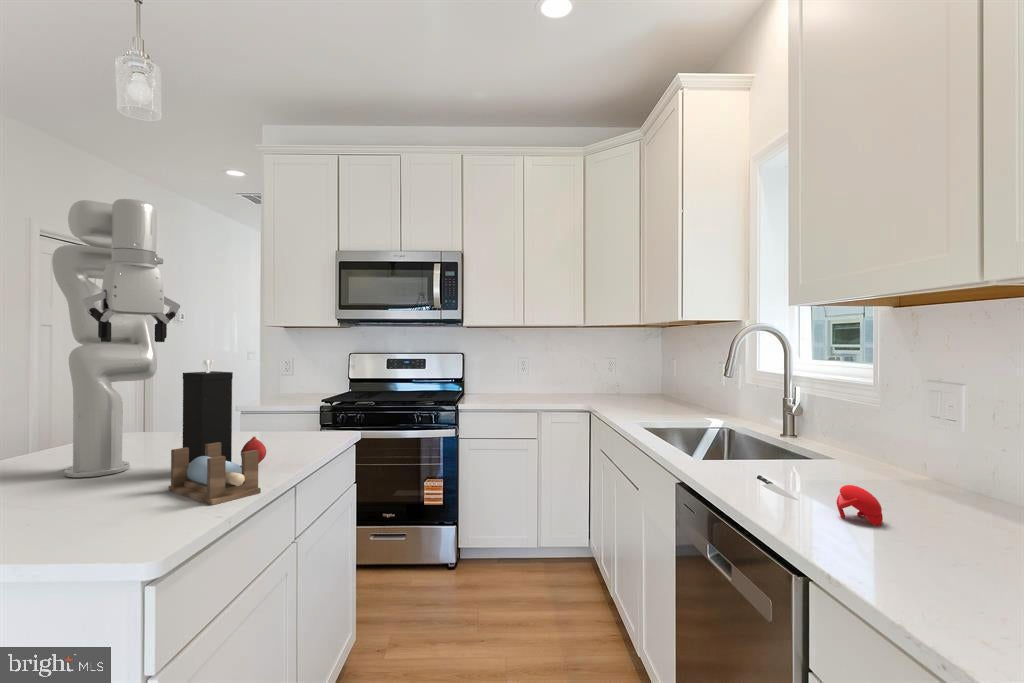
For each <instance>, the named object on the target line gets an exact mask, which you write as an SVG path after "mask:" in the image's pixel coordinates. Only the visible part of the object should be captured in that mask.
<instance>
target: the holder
mask: <svg viewBox="0 0 1024 683" xmlns="http://www.w3.org/2000/svg"><path fill="white" fill-rule="evenodd" d="M170 455H171V456H170V458H171V459H170V485H168V491H170V492H172V493H175V494H179V495H180V496H184V497H187V498H190V499H192V500H195V501H199V502H201V503H205V504H207V505H210V506H214V505H218V504H223V503H226V502H231V501H234V500H238V499H243V498H246V497H250V496H254V495H259V494H261V492H262V491H261V487H259V464H258V450H252V451H246V452H242V458H241V469H242V474H243V475H244V477H245V480H244V482H243V484H241V485H239V486H236V485H230V486H226V487H225V477H226V456H221V443H220V442H217V443H210V444H205V456H208V457H212V458H208V459H207V486H206V485H202V484H199V483H196V482H193V481H190V480H189V479H188V477H187V469H188V466H189V448H187V447H185V448H183V447H179V448H174V449H173V448H172V449H170Z"/></svg>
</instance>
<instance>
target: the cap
mask: <svg viewBox="0 0 1024 683" xmlns="http://www.w3.org/2000/svg"><path fill="white" fill-rule="evenodd" d="M836 507H837V510H838V512H839V515H840V517H841V518H842V519H845V518H846V514H845V511H844V509H846V508H848V507H853V508H854V509H856V510H858V511H857V513H856V516H858V517H862V516H863V517H865V518H866V520H867V521H868V522H869V523H870V524H871V525H873V526H875V527H879V526H880V527H881V525H882V523H883V513H882V512H883V510H882V506H881V503H880V502H879V500H878V499H877V498H876V497H875V496H874V495H873V494H872V493H870V492H869V491H867V489H864V488H863V487H861V486H858V485H854V484H846V485H843V486H841V487H840V488H839V494H838V496H837V498H836Z"/></svg>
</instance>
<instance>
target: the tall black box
mask: <svg viewBox="0 0 1024 683" xmlns="http://www.w3.org/2000/svg"><path fill="white" fill-rule="evenodd" d="M200 362H201V364H202V366H203V368H204V371H192V372H189V371H188V372H182V448H185V447H187V448H189V463H191V462H192V461H193V460H194V459H196V458H197V457H200V456H205V444H210V443H217V442H220V443H221V456H226V461H229V462H233V460H232V456H233V454H232V452H233V450H232V447H233V446H232V445H233V444H232V441H233V440H232V438H233V437H232V436H233V432H232V430H233V426H232V424H233V419H232V418H233V378H234V377H233V376H234V375H233V374H234V373H233V372H232V371H212V367H213V365H214V358H213V359H207V360H200Z"/></svg>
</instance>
